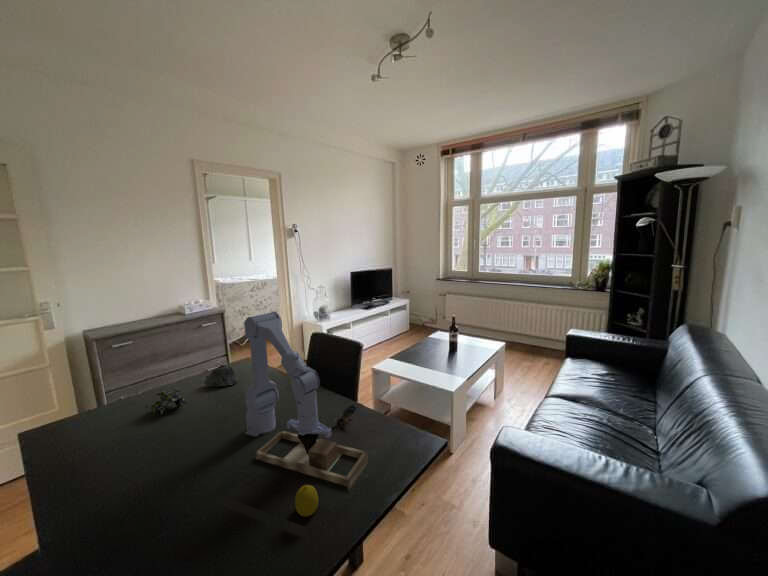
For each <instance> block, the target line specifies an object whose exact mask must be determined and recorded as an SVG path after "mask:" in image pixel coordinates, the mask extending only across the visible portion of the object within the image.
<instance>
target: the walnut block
mask: <svg viewBox="0 0 768 576" xmlns="http://www.w3.org/2000/svg"><path fill="white" fill-rule="evenodd" d="M337 444H338V443H337V441H335V442H334V441H332V440H328V439H327V440H326V439H324V438H319V439H318V441H317V442H316V443H315V444H314V445H313V446H312V447H311V448H310V449H309V450H308V454H309V466H312V467H315V468H319V469H322V470H326V471H328V469H329V468H330V467H331V466H332V464H333V463H334V462H335V460H336V459H337V458H338V454H337Z"/></svg>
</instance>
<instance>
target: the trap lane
mask: <svg viewBox="0 0 768 576" xmlns="http://www.w3.org/2000/svg"><path fill="white" fill-rule="evenodd" d="M282 439H283V440H288V441H291V442H295V443H297V444H296V446H295V447H294V448H292V449H291V450H290V451H289V452H288V454H287V455H285V456H284V457H280V456H277V455H274V454H270V453H268V451H270V450H271V449H272V448H273V447H274V446H275V445H277V444H278V443H279V442H280V441H282ZM318 440H319V439H318V438H317V440H316V442H317V441H318ZM254 454H255V460H258V461H262V462H264V463H268V464H271V465H275V466H278V467H281V468H285V469H288V470H292V471H295V472H298V473H302V474H304V475H308V476H311V477H314V478H318V479H322V480H324V481H328V482H332V483H335V484H338V485H340V486H344V487H347V489H346V490H345V491H346V492H350V490H351V489H352V488H353V486H354V485H355V482H356V481H357V480H358V478H359V477H360V475H361V473H362V472H363V470H364V468H366V465H367V464H368V460H369V459H368V451H365V450H362V449H358V448H353V447H350V446H346V445H345V446H344V445H343V444H342V445H341V444H338V443H337V454H338V458H337V459H336V460H335V462H334V463H333V464H332V466H331V467H330V468H329V469H328V471H326V470H322V469H319V468H315V467H312V466H309V455H307V452H306V450H305V447H304V445H303V444H302V442H301V441H300V439H299V438H298V433H293V432H290V431H285V430H280V431H279V432H277V434H275V435H274V436H273V437H272V438H270V439H269V441H267V442H266V443H265V444H263V446H262V447H260V448H259V449H258V450H257V451H256V452H254ZM343 455H344V456H350V457H352V458H357V459H358V460H357V461H356V462H355V464H354V465H353V466H352V468H351V470H350V471H349V472H348V474H347V475H343V474H339V473H335V472H333V471H331V470H332V468H333V467H334V465H335V464H336V463H337V462H338V461H339V459H340V458H341V456H343Z"/></svg>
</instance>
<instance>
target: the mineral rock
mask: <svg viewBox="0 0 768 576" xmlns="http://www.w3.org/2000/svg"><path fill="white" fill-rule="evenodd" d="M237 380H238V381H239V376H238V372H237V370H236V368H235V367H234V366H233V365H227V364H220V365H219V366H218V367H217V368H214V369H213V370H212V371H211V373H210V374H207V375H206V376H205V380H204V381H203V383H204V385H205V386H208V387H213V386H214V387H227V386H226V385H229V384H234V383H236V382H237ZM237 383H238V382H237ZM237 383H236V384H237Z"/></svg>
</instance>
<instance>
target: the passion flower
mask: <svg viewBox="0 0 768 576" xmlns="http://www.w3.org/2000/svg"><path fill="white" fill-rule="evenodd" d="M171 389H172V390H173V391H174V392H170V391H167V390H161V391H160V393H159V392H155V395H156V396H159V398H160V400H157V401H155V403H154V404H152V405H149V404H145V409H146V410H147V409H148V407H150V410H151V411H153V410H154V411H153V412H152V413H153V415H155V414H156V412H157V411H158V408H160V407H161V408H160V409H159V411H160V415H161V416H162V414H163V413H164V412H165V411H166V408H167V407H168V405H169V404H170V403H175V405H176V407H178V406H181V408H182V407H183V405H185V404H187V402H188V401H186V400H185V398H184V397H183V396H181V395H180V394H177V392H179V393H181V392H182V390H180V389H179V388H178V387H177V388H176V387H171ZM164 402H166V403H165V405H163V403H164Z"/></svg>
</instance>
